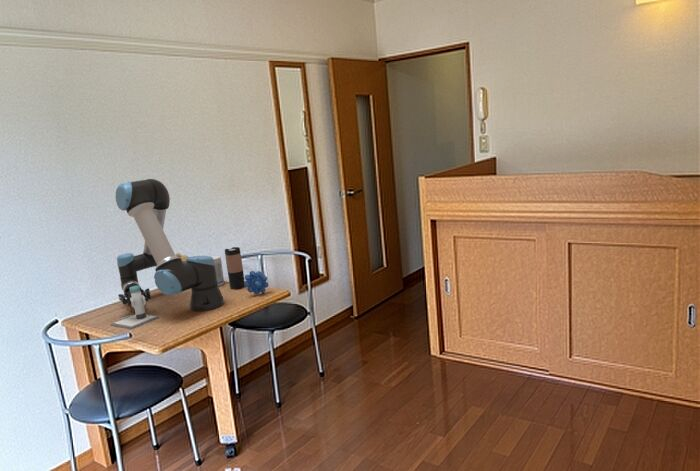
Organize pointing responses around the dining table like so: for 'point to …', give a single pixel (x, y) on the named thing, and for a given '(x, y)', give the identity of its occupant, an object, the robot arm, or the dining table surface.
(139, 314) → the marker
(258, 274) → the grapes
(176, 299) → the dining table surface
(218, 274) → the supplement tub
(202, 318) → the dining table surface
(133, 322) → the light grey flat square
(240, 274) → the travel mug
